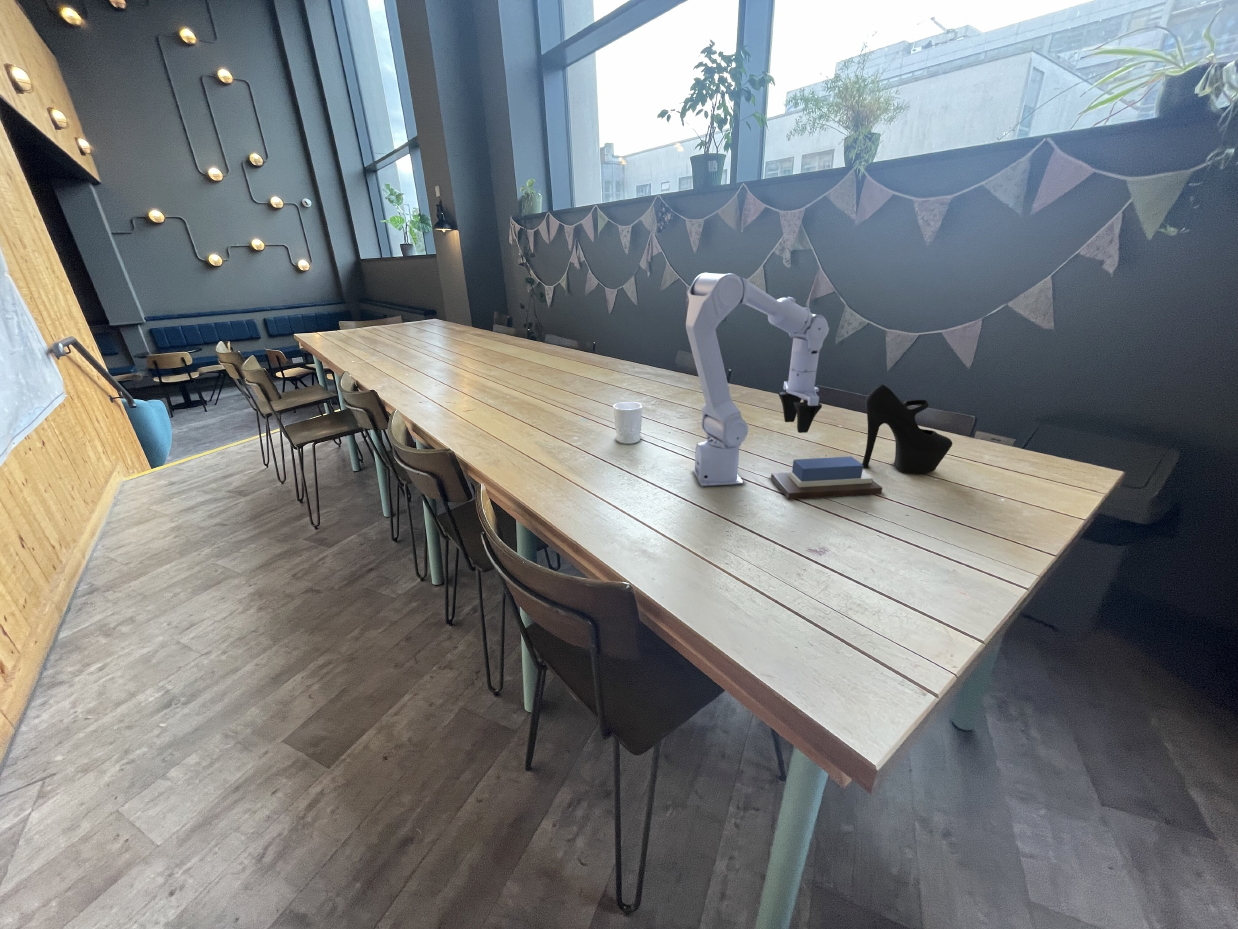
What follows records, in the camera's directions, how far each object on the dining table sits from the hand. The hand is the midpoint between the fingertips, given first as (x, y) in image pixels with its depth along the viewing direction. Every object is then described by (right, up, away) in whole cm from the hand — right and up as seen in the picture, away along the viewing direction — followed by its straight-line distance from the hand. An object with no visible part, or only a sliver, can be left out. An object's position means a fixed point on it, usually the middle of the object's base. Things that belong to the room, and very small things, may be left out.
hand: (795, 426), depth 111 cm
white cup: (-39, -2, +22) cm, 45 cm away
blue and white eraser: (+4, -12, -9) cm, 16 cm away
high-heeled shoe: (+24, -10, -1) cm, 26 cm away
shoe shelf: (+3, -14, -8) cm, 16 cm away
